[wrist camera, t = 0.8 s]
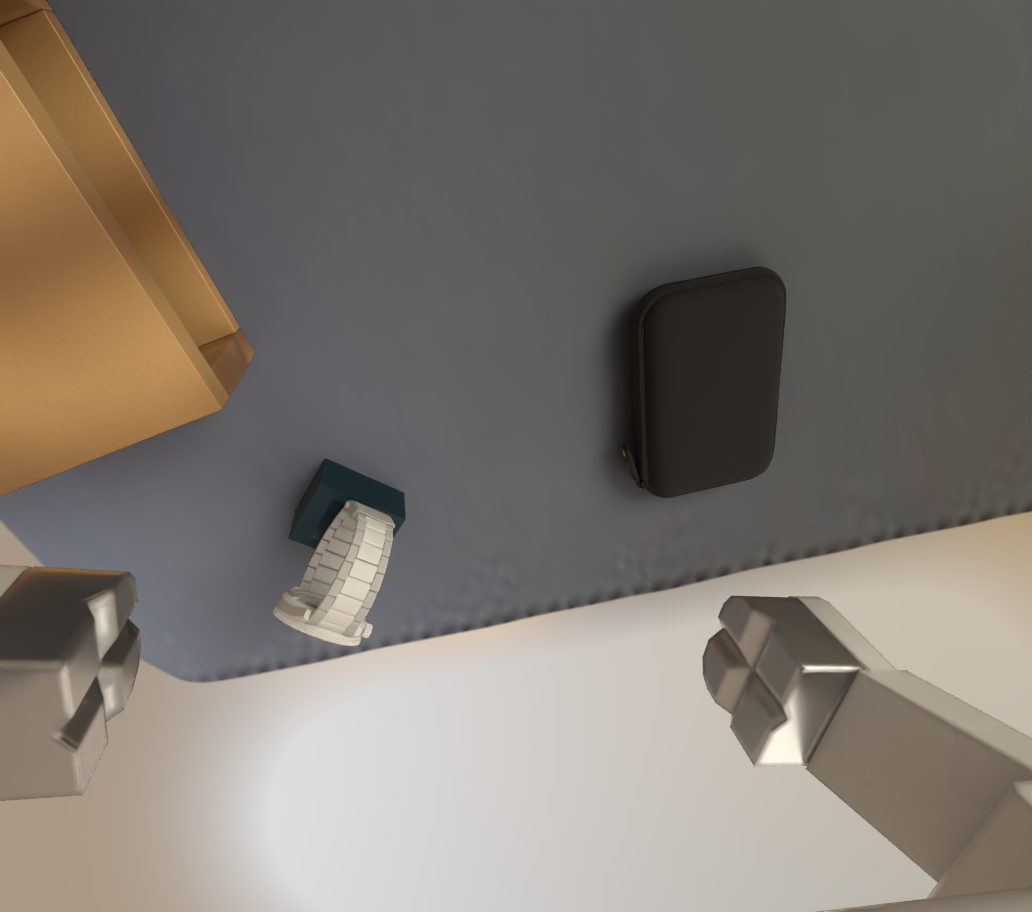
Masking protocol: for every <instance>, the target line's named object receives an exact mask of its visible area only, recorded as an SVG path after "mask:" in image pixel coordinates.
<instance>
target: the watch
mask: <svg viewBox="0 0 1032 912" xmlns="http://www.w3.org/2000/svg"><path fill="white" fill-rule="evenodd" d="M404 521H405V502H404V493H402V492H400V491H398V490H396V489H393V488H391V487H389V486H387V485H384V484H382V483H380V482H378V481H375V480H373V479H371V478H369V477H366V476H364V475H362V474H360V473H357V472H355V471H353V470H351V469H348V468H346V467H344V466H342V465H339V464H337V463H335V462H332V461H330V460H328V459H325V460H324V462H323V464H322V465H321V467H320V469H319V471H318V472H317V474H316V476H315V477H314V479H313V481H312V483H311V484H310V486H309V488H308V490H307V491H306V493H305V495H304V496H303V498H302V500H301V502H300V503H299V505H298V507H297V508H296V510H295V514H294V518H293V522H292V526H291V531H290V535H289V539H291V540H294V541H296V542H299V543H302V544H304V545H307V546H310V547H312V548H315V549H316V550H315V552H317V553H314V554H313V556H312V558H311V560H310V563H309V565H308V568H307V570H306V572H305V574H304V577H303V579H302V583H301V585H300V588H299V587H297V586H294V587H293V588H292V589H291V590H287V591H286V592H285V593H283V595H282V597H281V599H280V601H279V604H278V606H276V607H275V609H274V611H273V613H274V615H275V616H276V617H277V618H278V619H279V620H281V621H282V622H283V623H285V624H287V625H288V626H290V627H292V628H294V629H296V630H298V631H300V632H303V633H305V634H308V635H310V636H313V637H315V638H318V639H320V640H322V641H328V642H331V643H335V644H340V645H346V646H356V645H359V643H360V641H361V636H362V637H365V638H368V637H369V635H370V634H371V631H372V625H371V624H368V623H366V620H365V617H366V615H367V613H368V611H369V609H370V608H371V606H372V604H373V602H374V599H375V597H376V595H377V593H376V592H378V591H379V588H380V585H381V583H382V580H383V577H384V576H383V575H384V573H385V570H386V567H387V563H388V558H389V555H390V551H391V546H392V541H393V537H394V536H395V534H396V533H397V531H398V530H399V528H400V527H401V525H402V524H403V522H404ZM318 553H319V554H318ZM321 554H322V555H321ZM318 564H319V565H318ZM320 565H322V566H320ZM323 566H325V567H323ZM310 567H311V568H310ZM326 567H328V568H326ZM313 568H314V569H313ZM329 568H330V569H329ZM331 569H333V570H331ZM334 570H336V571H334ZM337 571H338V572H337ZM378 573H379V574H378ZM381 574H382V575H381ZM349 576H351V577H349ZM352 577H354V578H352ZM355 578H356V579H355ZM357 579H359V580H357ZM343 580H344V581H343ZM360 580H362V581H360ZM363 581H365V582H363ZM321 582H322V583H321ZM366 582H367V583H366ZM324 583H325V584H324ZM368 583H370V584H368ZM371 590H372V591H371ZM373 591H374V592H373Z"/></svg>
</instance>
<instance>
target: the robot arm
mask: <svg viewBox="0 0 1032 912" xmlns="http://www.w3.org/2000/svg"><path fill="white" fill-rule="evenodd" d="M137 601H138V600H137V591H136V582H135V578H134V577H133V575H132V574H131V573H130V572H122V571H105V570H88V569H71V568H53V567H36V566H35V567H33V568H32V567H29V566H11V565H0V801H5V800H20V799H33V798H49V797H64V796H78V795H83V793H84V791H85V789H86V787H87V785H88V782H89V781H90V778H91V776H92V774H93V772H94V770H95V768H96V766H97V764H98V762H99V760H100V758H101V756H102V754H103V751H104V750H105V747H106V745H107V743H108V736H107V727H106V722H107V721H108V720H110V719H111V718H113V717H114V716H115V715H117V714H118V713H120V712H121V711H122V710H124V707H125V705H126V703H127V700H128V698H129V696H130V694H131V692H132V689H133V686H134V682H135V678H136V674H137V671H138V667H139V659H140V647H141V644H140V630H139V629H138V628H137V627H136V626H135V625H134V624H133V623H132V622H131V621H130V620H129V619H128V617H129V615H130V613H131V612H132V610H133V608H134V606H135V604H136V602H137ZM718 618H719V621H720V624H721V626H722V629H721V630H720V631H719V632H717V633H716V634H715V635H714V636H713V637H711V638H710V639H709V640H708V643H707V646H706V649H705V652H704V655H703V676H704V680H705V683H706V686H707V689H708V691H709V692H710V694H711V696H712V698H713V699H714V701H715V702H716V703H717V704H718V705H719V706H721V707H722V708H723V709H725V710H726V711H728V712H729V713H730V714H732V719H731V726H730V727H731V729H732V731H733V732H734V734H735V735H736V737H737V739H738V741H739V742H740V744H741V745H742V747H743V749H744V750H745V752H746V754H747V755H748V757H749V758H750V760H751V762H752V763H753V765H754V766H807V768H806V769H807V770H808V771H809V772H810V773H811V774H812V775H814V776H815V777H816V778H817V779H818V780H819V781H821V782H822V783H823V784H824V785H825V786H826V787H828V788H829V789H830V790H831V791H832V792H833V793H834V794H836V795H837V796H838V797H839V798H840V799H841V800H843V801H844V802H845V803H846V804H847V805H848V806H850V807H851V808H852V809H853V810H854V811H855V812H856V813H858V814H859V815H860V816H861V817H862V818H863V819H865V820H866V821H867V822H868V823H869V824H870V825H872V826H873V827H874V828H875V829H876V830H877V831H878V832H880V833H881V834H882V835H883V836H884V837H885V838H887V839H888V840H889V841H890V842H891V843H892V844H894V845H895V846H896V847H897V848H898V849H899V850H901V851H902V852H903V853H904V854H905V855H906V856H907V857H909V858H910V859H911V860H912V861H913V862H914V863H916V864H917V865H918V866H919V867H920V868H921V869H923V870H924V871H925V872H926V873H927V874H928V875H930V876H931V877H932V878H933V879H934V880H935V881H937V882H938V884H937V885H936V886H935V888H934V889H933V890H932V892H931V893H930V894H929V896H928V897H927V898H926V899H922V900H912V901H904V902H896V903H887V904H878V905H870V906H861V907H853V908H845V909H835V910H827V911H819V912H1032V738H1031V737H1029V736H1027V735H1025V734H1023V733H1021V732H1019V731H1018V730H1016V729H1014V728H1012V727H1010V726H1008V725H1007V724H1004V723H1003V722H1001V721H999V720H997V719H995V718H994V717H992V716H990V715H988V714H986V713H984V712H983V711H981V710H979V709H977V708H975V707H973V706H971V705H970V704H968V703H966V702H964V701H962V700H960V699H958V698H957V697H955V696H953V695H951V694H949V693H947V692H946V691H944V690H942V689H940V688H938V687H936V686H934V685H933V684H931V683H929V682H927V681H925V680H923V679H921V678H919V677H918V676H916V675H914V674H912V673H910V672H908V671H907V670H903V671H902V670H897V669H896V668H895V667H894V666H893V665H892V664H891V663H890V662H889V661H888V660H887V659H886V658H885V657H884V656H883V655H882V654H881V653H880V652H879V651H878V650H877V649H876V648H875V647H874V646H873V645H872V644H871V643H870V642H869V641H868V640H867V639H866V638H865V637H864V636H863V635H862V634H861V633H860V632H859V631H858V630H857V629H856V628H855V627H854V626H853V625H852V624H850V622H848V621H847V619H846V618H845V617H844V616H842V615H841V613H839V611H837V610H836V609H835V608H834V607H833V606H832V605H831V604H830V603H829V602H828V601H826V600H824V599H822V598H819V597H793V596H791V597H787V598H785V597H756V596H755V597H754V596H731V597H730V598H729V599H728V600H727V601H726V602H725V603H724V604H723V606H722V609H721V611H720V613H719V616H718Z"/></svg>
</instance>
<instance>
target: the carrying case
mask: <svg viewBox="0 0 1032 912" xmlns="http://www.w3.org/2000/svg"><path fill="white" fill-rule="evenodd" d="M785 313H786V288H785V286H784V283H783V281H782V279H781V278H780V277H779V275H778V274H777V273H775V272H774V271H772V270H770V269H768V268H765V267H752V268H746V269H741V270H736V271H731V272H726V273H720V274H715V275H710V276H705V277H699V278H694V279H689V280H684V281H679V282H673V283H668V284H664V285H660V286H658V287H656V288H654V289H653V290H651V291H650V292H649V293H647V294H646V295H645V296H644V297H643V298H642V300H641V301H640V302H639V304H638V306H637V308H636V310H635V312H634V316H633V322H630V331H631V354H632V379H633V404H634V429H635V454H636V463H635V460H634V457H633V455H632V452H631V450H630V448H629V447H628V445H627V444H625V443H623V444H622V451H623V454H624V457H625V461H626V464H627V466H628V469H629V472H630V474H631V476H632V478H633V479H634V480H635V481H636V483H637V486H638V487H639V488H642V489H644V488H645V489H646V490H647V491H648V492H649V493H650V494H652V495H655V496H658V497H662V498H670V497H675V496H679V495H684V494H688V493H692V492H697V491H701V490H705V489H710V488H714V487H719V486H723V485H728V484H732V483H737V482H741V481H745V480H749V479H752V478H754V477H757V476H758V475H760V474H762V473H763V472H764V471H765V470H766V469H767V468H768V466H769V464H770V462H771V460H772V457H773V452H774V445H775V436H776V423H777V410H778V397H779V384H780V372H781V360H782V348H783V337H784V325H785ZM638 484H639V485H640V486H639V485H638Z"/></svg>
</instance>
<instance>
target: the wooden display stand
mask: <svg viewBox="0 0 1032 912" xmlns="http://www.w3.org/2000/svg"><path fill="white" fill-rule="evenodd" d="M254 354H255V352H254V351H253V349H252V347H251V345H250V344H249V342H248V340H247V339H246V337H245V335H244V334H243V332H242V330H241V329H240V328H239V325H238V324H237V322H236V320H235V319H234V317H233V315H232V313H231V312H230V310H229V308H228V307H227V305H226V303H225V302H224V300H223V298H222V296H221V295H220V293H219V291H218V290H217V288H216V286H215V285H214V283H213V281H212V280H211V278H210V276H209V274H208V273H207V271H206V269H205V268H204V266H203V264H202V263H201V261H200V259H199V258H198V256H197V254H196V252H195V251H194V249H193V247H192V246H191V244H190V242H189V241H188V239H187V237H186V236H185V234H184V232H183V230H182V229H181V227H180V225H179V224H178V222H177V220H176V219H175V217H174V215H173V214H172V212H171V210H170V208H169V207H168V205H167V203H166V202H165V200H164V198H163V197H162V195H161V193H160V192H159V190H158V188H157V186H156V185H155V183H154V181H153V180H152V178H151V176H150V175H149V173H148V171H147V170H146V168H145V166H144V164H143V163H142V161H141V159H140V158H139V156H138V154H137V153H136V151H135V149H134V148H133V146H132V144H131V142H130V141H129V139H128V137H127V136H126V134H125V132H124V131H123V129H122V127H121V126H120V124H119V122H118V120H117V119H116V117H115V115H114V114H113V112H112V110H111V109H110V107H109V105H108V104H107V102H106V100H105V98H104V97H103V95H102V93H101V92H100V90H99V88H98V87H97V85H96V83H95V82H94V80H93V78H92V76H91V75H90V73H89V71H88V70H87V68H86V66H85V65H84V63H83V61H82V59H81V58H80V56H79V54H78V53H77V51H76V49H75V48H74V46H73V44H72V43H71V41H70V39H69V37H68V36H67V34H66V32H65V31H64V29H63V27H62V26H61V24H60V22H59V21H58V19H57V17H56V15H55V14H54V13H52V9H51V7H50V6H49V4H48V2H47V0H0V496H1V495H4V494H6V493H9V492H11V491H14V490H16V489H19V488H22V487H24V486H27V485H29V484H32V483H34V482H37V481H39V480H42V479H45V478H47V477H50V476H52V475H55V474H57V473H60V472H63V471H65V470H68V469H70V468H73V467H75V466H78V465H81V464H83V463H86V462H88V461H91V460H93V459H96V458H99V457H101V456H104V455H106V454H109V453H111V452H114V451H116V450H119V449H122V448H124V447H127V446H129V445H132V444H134V443H137V442H140V441H142V440H145V439H147V438H150V437H152V436H155V435H158V434H160V433H163V432H165V431H168V430H170V429H173V428H176V427H178V426H181V425H183V424H186V423H188V422H191V421H193V420H196V419H199V418H201V417H204V416H206V415H209V414H211V413H214V412H217V411H219V410H222V408H223V407H224V405H225V403H226V401H227V400H228V398H229V396H230V395H231V393H232V391H233V389H234V388H235V386H236V384H237V383H238V381H239V379H240V378H241V376H242V374H243V373H244V371H245V369H246V368H247V366H248V364H249V363H250V361H251V359H252V358H253V356H254Z"/></svg>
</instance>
